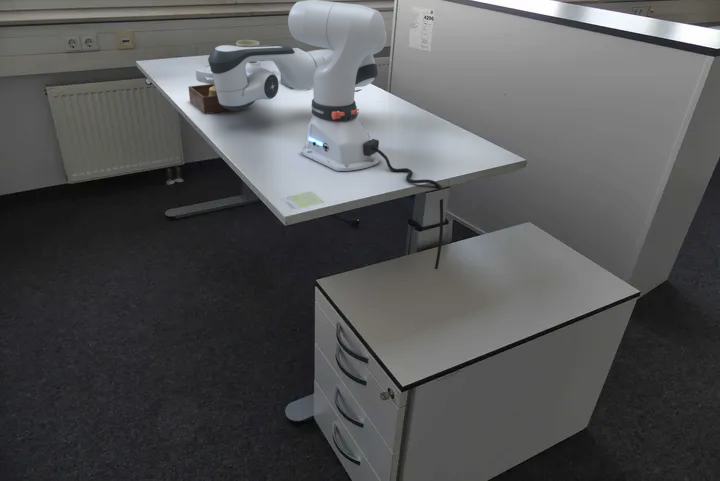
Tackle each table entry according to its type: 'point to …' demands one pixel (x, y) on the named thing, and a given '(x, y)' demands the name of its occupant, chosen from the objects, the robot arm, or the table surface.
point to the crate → (205, 99)
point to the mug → (247, 43)
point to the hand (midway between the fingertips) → (212, 66)
